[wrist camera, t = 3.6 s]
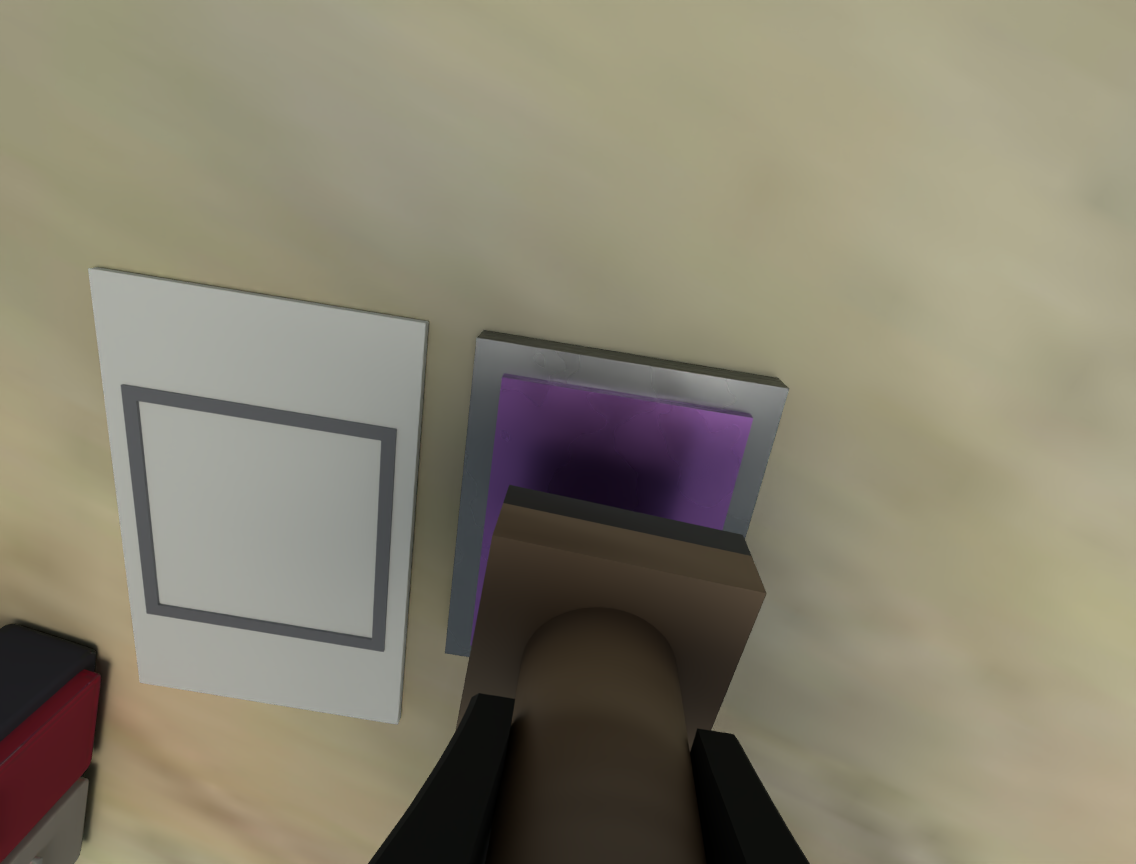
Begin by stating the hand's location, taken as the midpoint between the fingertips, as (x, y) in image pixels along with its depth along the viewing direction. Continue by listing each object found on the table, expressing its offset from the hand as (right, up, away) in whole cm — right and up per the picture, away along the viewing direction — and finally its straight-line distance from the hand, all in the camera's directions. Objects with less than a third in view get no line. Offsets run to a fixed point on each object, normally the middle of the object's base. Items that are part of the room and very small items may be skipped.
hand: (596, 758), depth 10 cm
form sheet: (-10, +3, +9) cm, 13 cm away
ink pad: (+1, +3, +8) cm, 8 cm away
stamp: (0, +2, +4) cm, 4 cm away
